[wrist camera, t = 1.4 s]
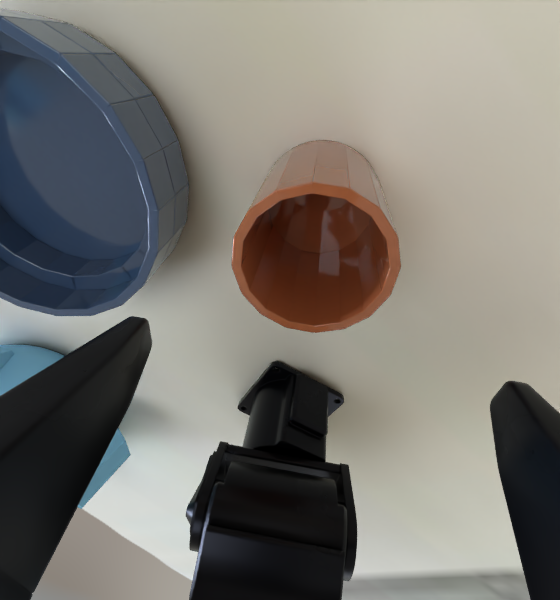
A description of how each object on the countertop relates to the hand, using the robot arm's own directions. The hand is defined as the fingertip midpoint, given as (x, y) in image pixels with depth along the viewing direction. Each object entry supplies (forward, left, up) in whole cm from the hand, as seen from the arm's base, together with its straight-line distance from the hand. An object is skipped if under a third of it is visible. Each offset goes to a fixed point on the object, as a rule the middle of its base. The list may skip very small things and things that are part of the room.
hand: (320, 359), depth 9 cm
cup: (-1, 0, -13) cm, 13 cm away
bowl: (-7, +13, -13) cm, 20 cm away
